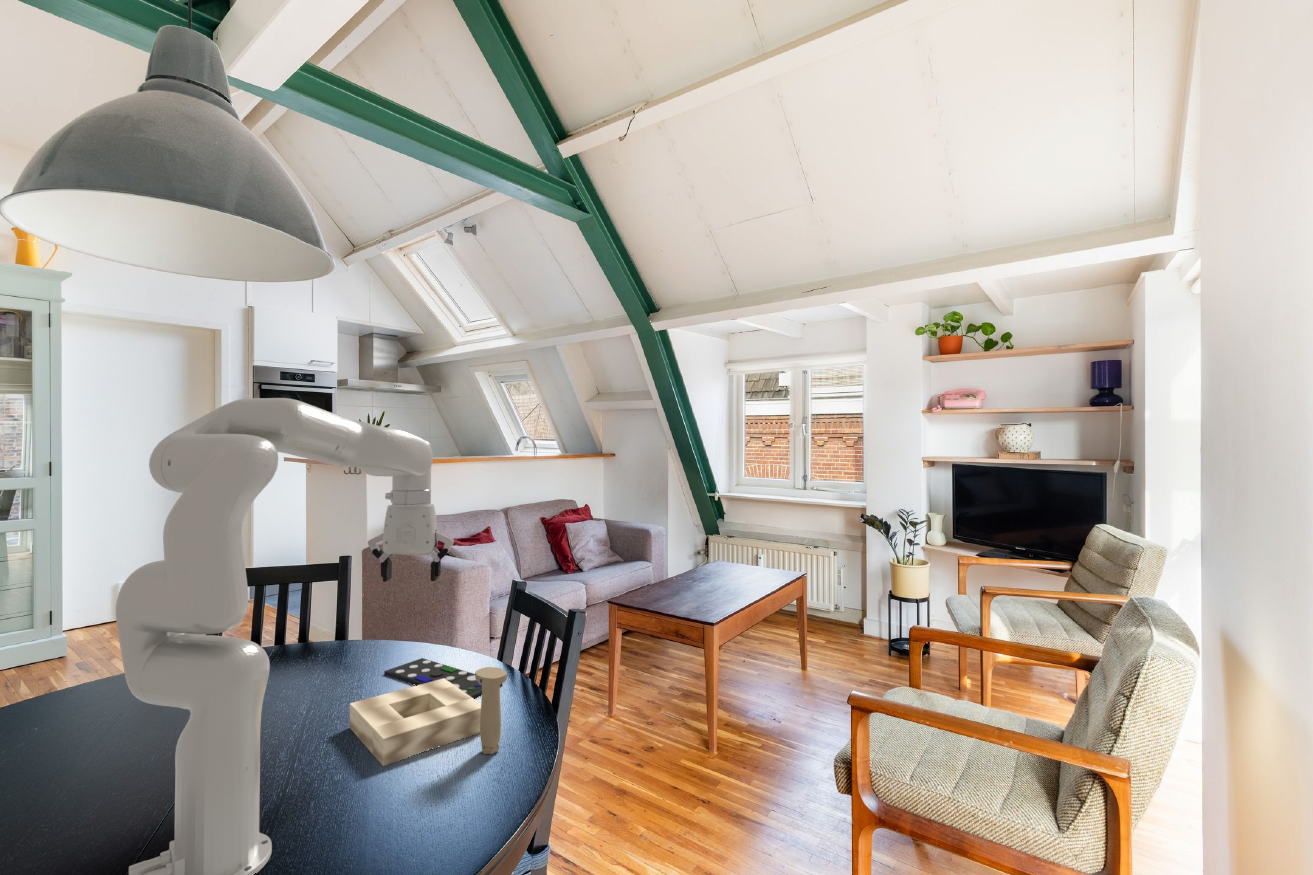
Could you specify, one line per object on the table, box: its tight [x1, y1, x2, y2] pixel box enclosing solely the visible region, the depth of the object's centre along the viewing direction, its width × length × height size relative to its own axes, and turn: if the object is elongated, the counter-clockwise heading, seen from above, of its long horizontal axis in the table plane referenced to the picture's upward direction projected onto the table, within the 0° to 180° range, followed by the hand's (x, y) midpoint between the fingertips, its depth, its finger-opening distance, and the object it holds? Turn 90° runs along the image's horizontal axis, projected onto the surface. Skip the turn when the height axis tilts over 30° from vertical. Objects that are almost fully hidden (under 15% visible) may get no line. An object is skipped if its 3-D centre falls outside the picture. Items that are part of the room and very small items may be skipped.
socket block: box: [349, 678, 481, 767], centre depth 124 cm, size 20×20×5 cm
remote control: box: [383, 657, 504, 699], centre depth 150 cm, size 11×30×2 cm, turn 58°
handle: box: [474, 666, 508, 756], centre depth 116 cm, size 5×6×15 cm
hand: (410, 580), depth 127 cm, fingers open, 9 cm apart
